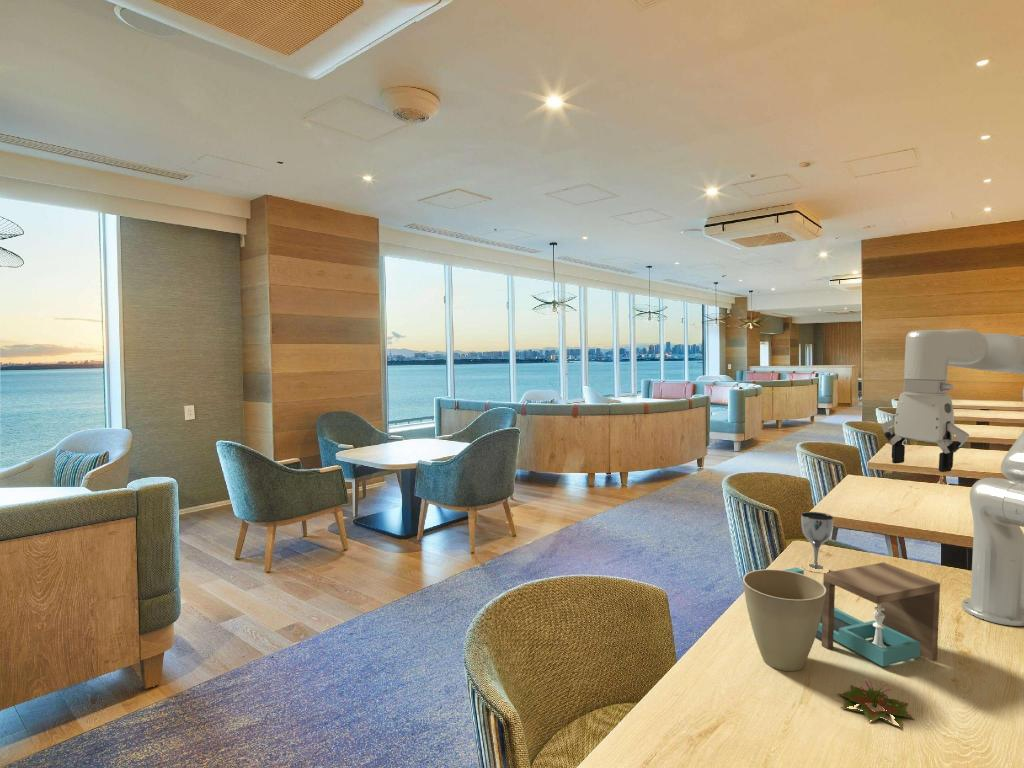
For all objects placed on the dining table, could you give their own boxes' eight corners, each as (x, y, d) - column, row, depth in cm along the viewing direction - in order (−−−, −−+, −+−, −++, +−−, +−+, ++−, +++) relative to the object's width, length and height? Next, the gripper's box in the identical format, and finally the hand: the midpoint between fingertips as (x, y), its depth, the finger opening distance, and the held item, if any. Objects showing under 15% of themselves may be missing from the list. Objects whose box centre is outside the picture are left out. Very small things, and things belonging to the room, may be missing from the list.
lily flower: (842, 681, 111) (843, 658, 110) (919, 706, 103) (921, 681, 103) (828, 712, 101) (829, 687, 101) (912, 742, 94) (913, 714, 93)
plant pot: (759, 635, 127) (761, 563, 126) (834, 661, 117) (837, 583, 116) (728, 661, 117) (729, 583, 116) (807, 692, 106) (810, 607, 105)
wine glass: (832, 566, 166) (834, 514, 165) (830, 575, 160) (832, 521, 159) (801, 561, 171) (803, 510, 170) (798, 570, 164) (799, 517, 163)
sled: (796, 595, 146) (797, 567, 146) (919, 657, 117) (921, 622, 117) (764, 601, 143) (764, 573, 142) (882, 666, 114) (884, 631, 113)
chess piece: (896, 659, 117) (898, 611, 117) (869, 657, 118) (871, 609, 118) (886, 647, 122) (887, 600, 121) (860, 645, 123) (861, 598, 122)
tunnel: (838, 610, 139) (840, 546, 138) (936, 659, 117) (940, 583, 116) (781, 622, 133) (782, 555, 132) (873, 675, 112) (876, 596, 111)
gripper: (980, 390, 120) (976, 473, 121) (895, 385, 135) (891, 458, 136) (958, 391, 117) (954, 476, 118) (873, 385, 132) (870, 461, 133)
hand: (920, 467), depth 127 cm, fingers open, 9 cm apart
